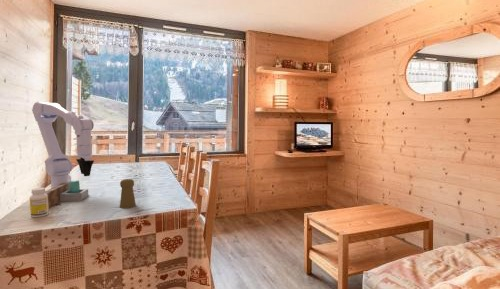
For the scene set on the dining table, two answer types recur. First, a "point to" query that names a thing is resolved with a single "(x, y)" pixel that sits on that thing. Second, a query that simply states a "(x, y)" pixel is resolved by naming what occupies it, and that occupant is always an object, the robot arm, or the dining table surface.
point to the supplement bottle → (39, 203)
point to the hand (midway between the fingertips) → (85, 174)
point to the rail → (56, 193)
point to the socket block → (73, 195)
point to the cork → (127, 194)
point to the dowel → (74, 187)
